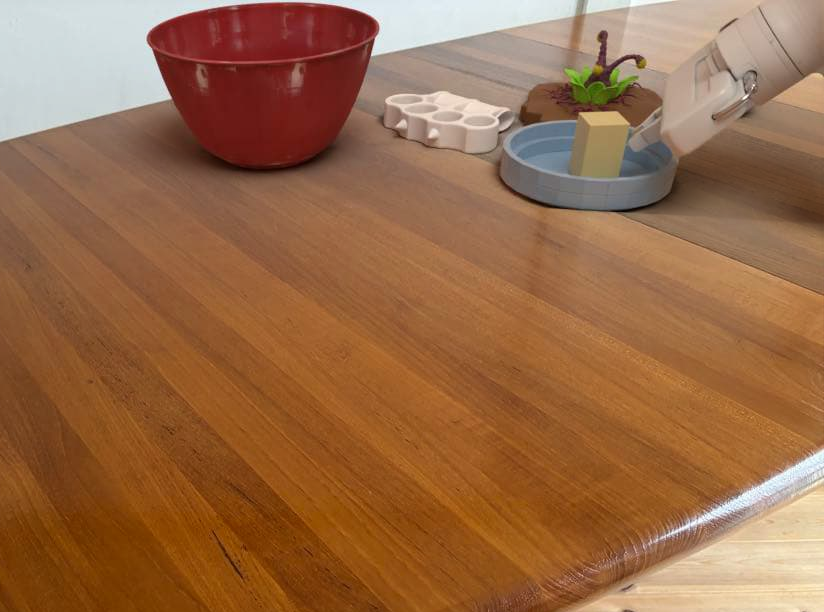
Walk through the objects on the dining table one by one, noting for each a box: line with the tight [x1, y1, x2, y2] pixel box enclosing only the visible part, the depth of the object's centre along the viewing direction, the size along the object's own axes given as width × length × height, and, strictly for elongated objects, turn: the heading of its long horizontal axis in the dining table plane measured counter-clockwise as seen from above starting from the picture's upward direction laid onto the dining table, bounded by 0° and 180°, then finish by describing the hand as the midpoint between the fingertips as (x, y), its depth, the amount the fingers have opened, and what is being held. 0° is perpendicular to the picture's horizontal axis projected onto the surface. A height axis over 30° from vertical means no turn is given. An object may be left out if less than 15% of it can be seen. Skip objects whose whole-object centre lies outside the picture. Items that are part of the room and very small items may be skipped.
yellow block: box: [568, 111, 630, 178], centre depth 96 cm, size 4×4×7 cm
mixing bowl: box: [146, 1, 381, 170], centre depth 105 cm, size 28×28×16 cm
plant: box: [519, 29, 663, 128], centre depth 112 cm, size 20×20×11 cm
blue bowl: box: [499, 120, 681, 212], centre depth 97 cm, size 20×20×4 cm
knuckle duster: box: [383, 90, 515, 155], centre depth 112 cm, size 3×18×15 cm
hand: (631, 143), depth 94 cm, fingers closed
